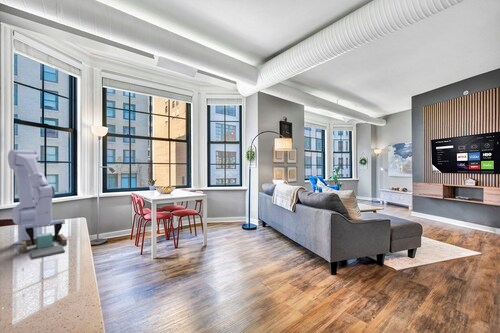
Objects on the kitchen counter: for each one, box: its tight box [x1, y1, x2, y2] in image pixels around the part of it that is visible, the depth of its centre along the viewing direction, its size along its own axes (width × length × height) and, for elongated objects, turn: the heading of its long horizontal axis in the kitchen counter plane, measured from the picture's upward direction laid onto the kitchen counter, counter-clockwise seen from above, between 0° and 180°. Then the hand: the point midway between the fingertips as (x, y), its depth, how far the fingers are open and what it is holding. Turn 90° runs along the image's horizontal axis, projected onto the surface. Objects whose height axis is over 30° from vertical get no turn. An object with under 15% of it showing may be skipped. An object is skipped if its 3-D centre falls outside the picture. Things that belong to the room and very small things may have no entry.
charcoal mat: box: [30, 244, 66, 260], centre depth 99 cm, size 10×10×1 cm
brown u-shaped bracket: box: [21, 233, 68, 254], centre depth 108 cm, size 13×14×2 cm
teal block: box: [36, 232, 53, 249], centre depth 108 cm, size 5×5×5 cm
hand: (44, 242), depth 108 cm, fingers open, 7 cm apart
